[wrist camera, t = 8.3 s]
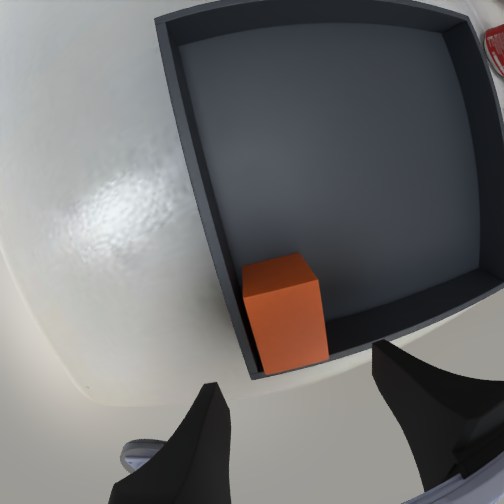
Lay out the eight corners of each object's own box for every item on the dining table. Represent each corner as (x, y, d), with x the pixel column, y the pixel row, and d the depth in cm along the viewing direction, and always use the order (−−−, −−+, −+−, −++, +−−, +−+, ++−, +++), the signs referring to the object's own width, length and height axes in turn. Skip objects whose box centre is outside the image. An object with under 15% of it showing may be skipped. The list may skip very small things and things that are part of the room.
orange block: (311, 319, 21) (329, 359, 16) (260, 332, 21) (265, 375, 16) (299, 251, 19) (318, 279, 14) (241, 266, 19) (242, 298, 15)
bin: (478, 269, 21) (507, 285, 17) (249, 343, 22) (251, 380, 17) (439, 30, 15) (468, 16, 10) (170, 46, 15) (153, 18, 11)
